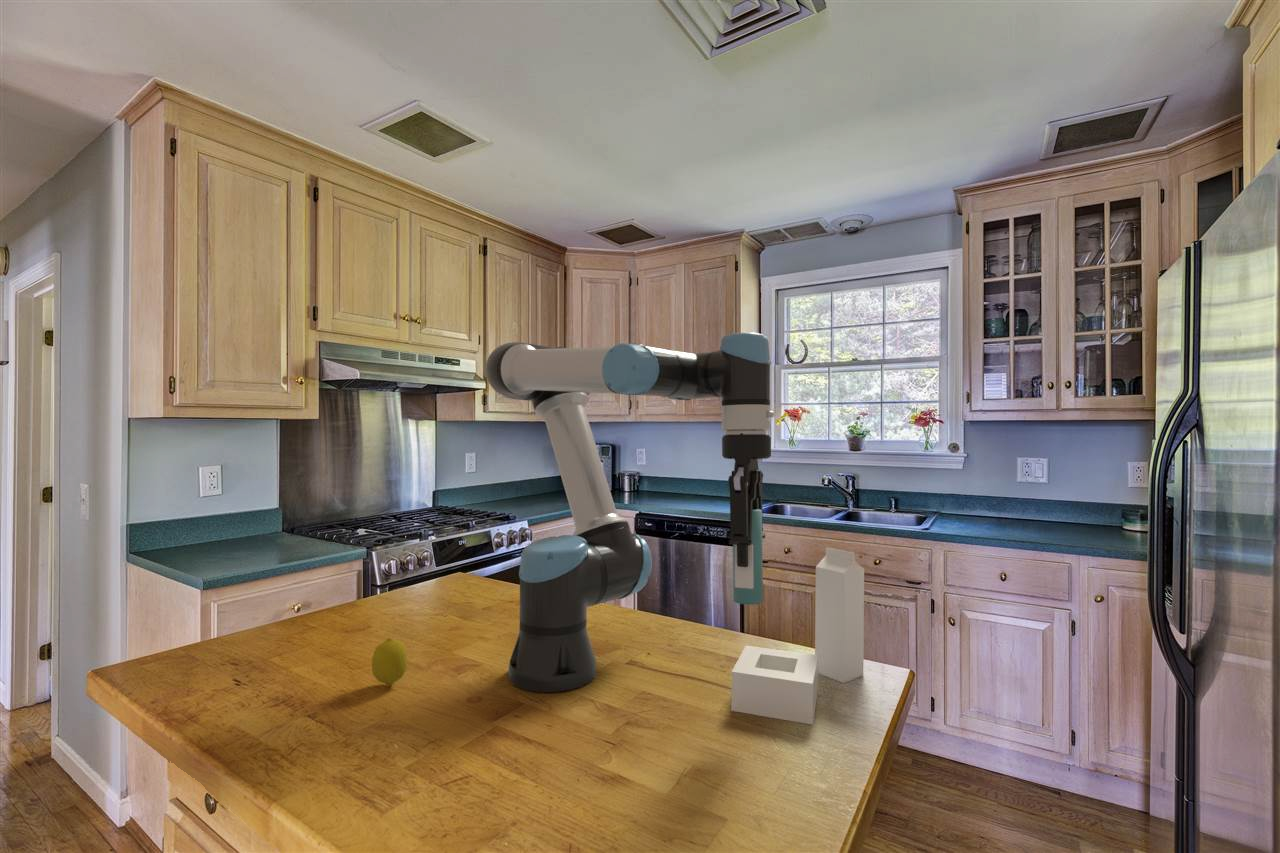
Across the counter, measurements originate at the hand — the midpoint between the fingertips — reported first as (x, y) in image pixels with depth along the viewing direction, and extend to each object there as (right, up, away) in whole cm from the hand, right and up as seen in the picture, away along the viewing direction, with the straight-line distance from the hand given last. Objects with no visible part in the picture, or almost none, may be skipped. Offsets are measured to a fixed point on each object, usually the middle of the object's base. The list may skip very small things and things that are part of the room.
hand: (748, 583), depth 93 cm
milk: (+19, -20, +14) cm, 30 cm away
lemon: (-58, -19, +7) cm, 62 cm away
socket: (+5, -19, +3) cm, 20 cm away
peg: (0, -3, 0) cm, 3 cm away
